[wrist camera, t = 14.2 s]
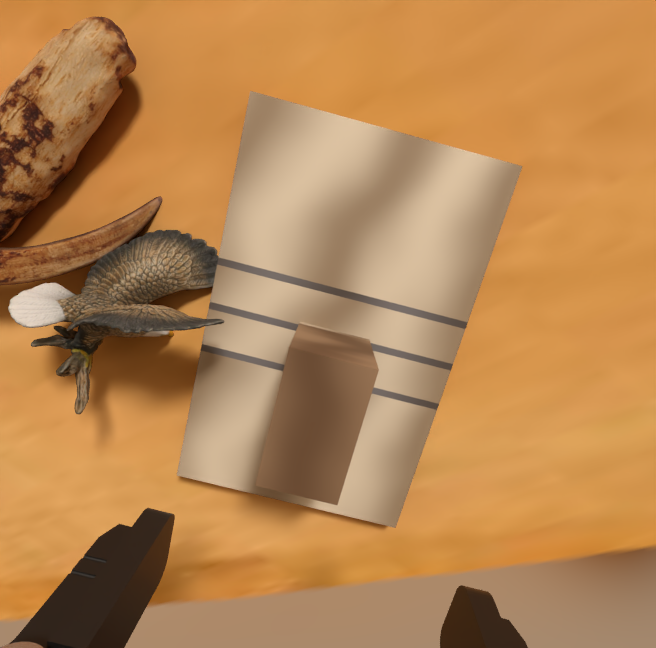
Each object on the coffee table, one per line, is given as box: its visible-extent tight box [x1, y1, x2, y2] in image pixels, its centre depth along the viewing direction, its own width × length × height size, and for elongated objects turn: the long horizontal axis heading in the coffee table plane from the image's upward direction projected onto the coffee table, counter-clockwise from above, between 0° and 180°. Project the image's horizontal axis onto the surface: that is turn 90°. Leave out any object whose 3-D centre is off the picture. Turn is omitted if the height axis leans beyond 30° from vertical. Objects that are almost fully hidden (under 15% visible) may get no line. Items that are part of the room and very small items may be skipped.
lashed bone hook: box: [0, 17, 162, 285], centre depth 20 cm, size 9×5×18 cm
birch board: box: [177, 91, 522, 528], centre depth 22 cm, size 14×22×1 cm, turn 165°
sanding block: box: [255, 322, 379, 505], centre depth 20 cm, size 4×7×5 cm, turn 165°
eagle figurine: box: [8, 230, 224, 414], centre depth 20 cm, size 8×7×9 cm
